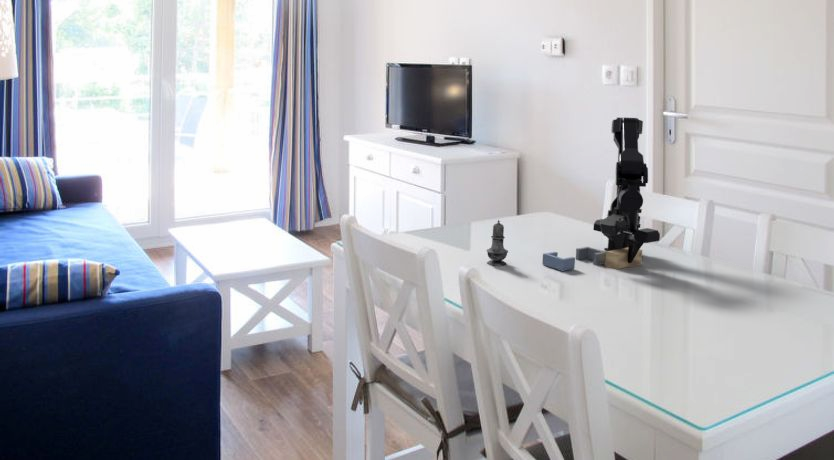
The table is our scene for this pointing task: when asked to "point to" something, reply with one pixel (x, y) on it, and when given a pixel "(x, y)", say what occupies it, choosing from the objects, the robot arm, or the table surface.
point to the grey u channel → (591, 255)
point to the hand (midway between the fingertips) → (623, 261)
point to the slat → (621, 258)
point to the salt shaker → (497, 247)
